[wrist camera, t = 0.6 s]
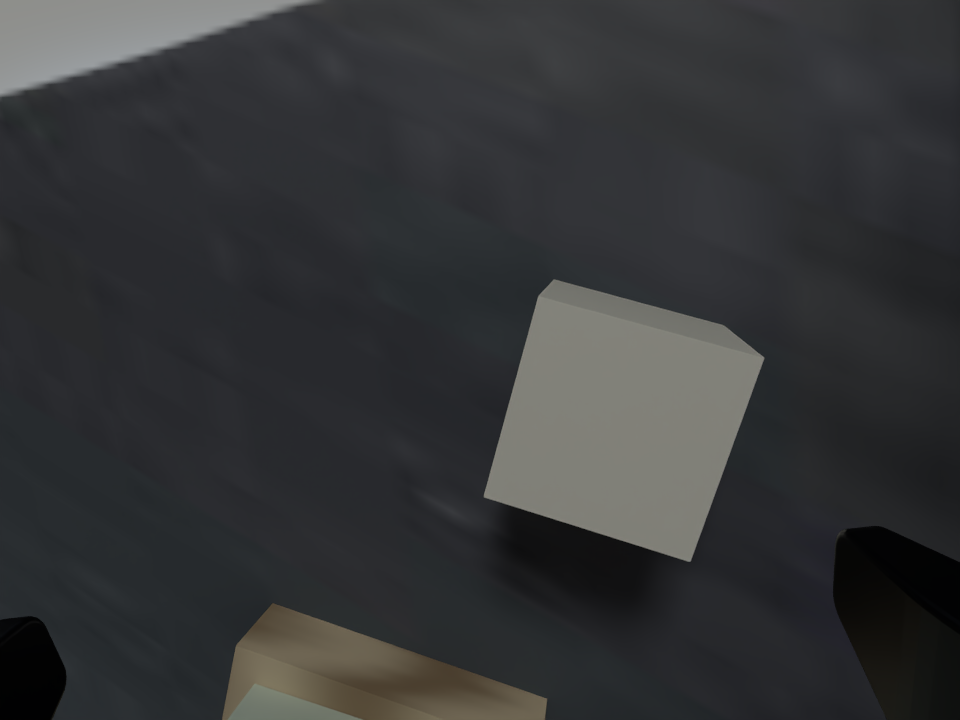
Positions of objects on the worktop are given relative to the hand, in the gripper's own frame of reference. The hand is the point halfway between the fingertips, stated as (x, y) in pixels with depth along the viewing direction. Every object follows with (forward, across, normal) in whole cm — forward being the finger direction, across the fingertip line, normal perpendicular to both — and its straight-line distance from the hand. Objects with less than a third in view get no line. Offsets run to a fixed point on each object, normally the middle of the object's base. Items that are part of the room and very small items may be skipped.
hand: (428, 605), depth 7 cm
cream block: (+12, -4, +3) cm, 13 cm away
